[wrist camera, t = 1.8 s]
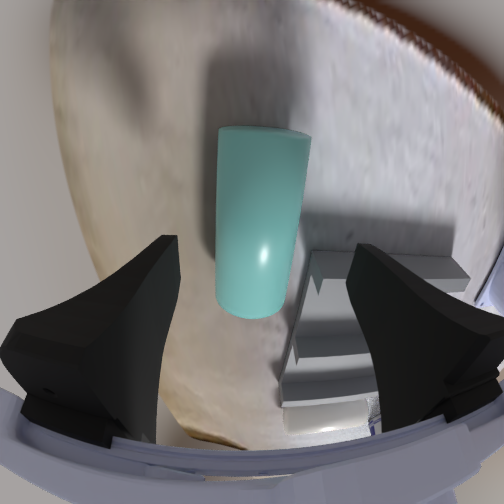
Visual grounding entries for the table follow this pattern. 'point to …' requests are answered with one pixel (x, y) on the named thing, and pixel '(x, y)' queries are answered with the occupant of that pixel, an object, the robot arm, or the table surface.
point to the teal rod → (257, 216)
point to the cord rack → (342, 330)
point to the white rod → (325, 417)
